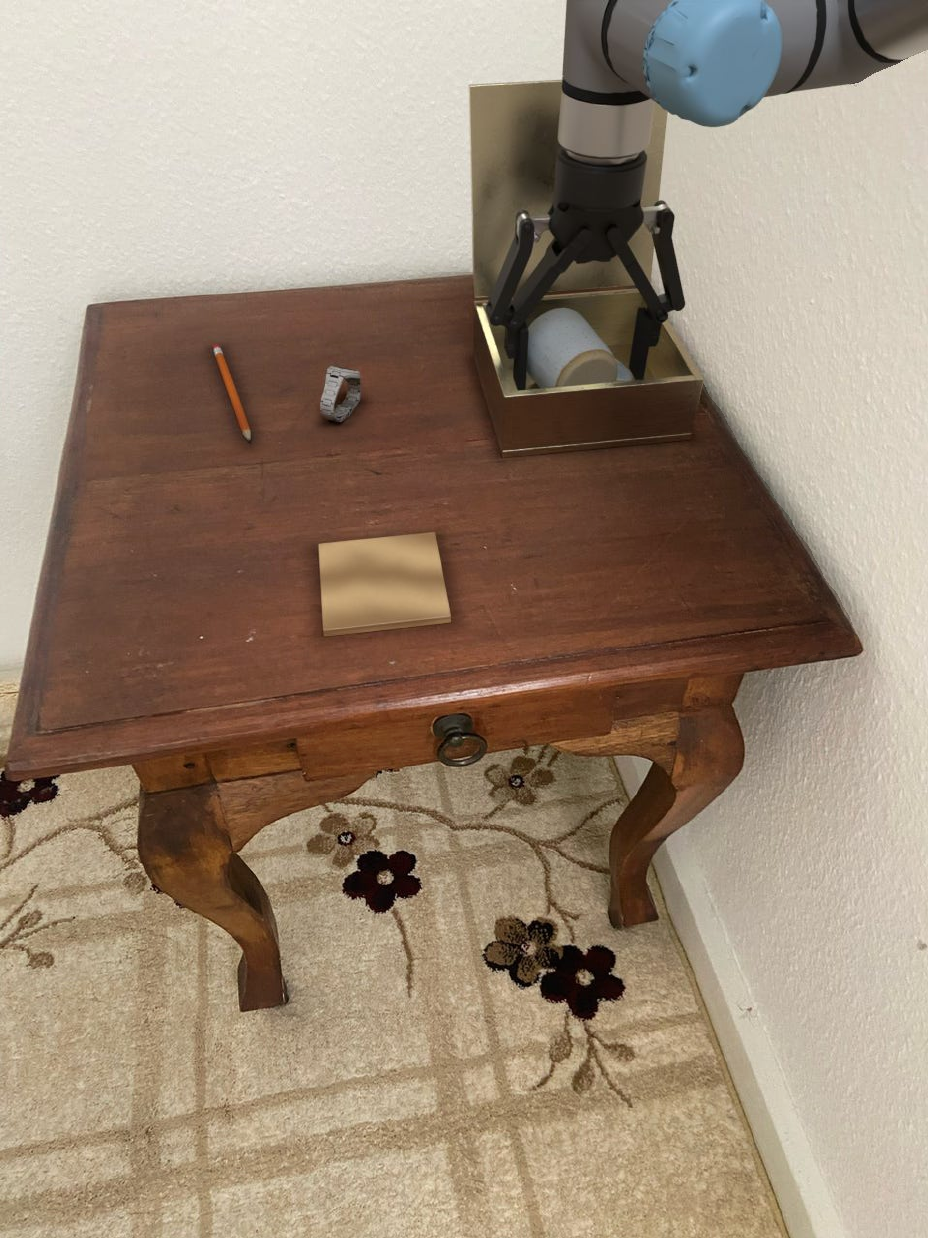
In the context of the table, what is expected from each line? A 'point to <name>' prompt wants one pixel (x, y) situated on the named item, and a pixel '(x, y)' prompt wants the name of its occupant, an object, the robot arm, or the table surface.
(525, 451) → the open metal box
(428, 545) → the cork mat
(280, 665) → the table surface
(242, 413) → the pencil
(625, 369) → the ceramic mug
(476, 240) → the box lid
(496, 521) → the table surface
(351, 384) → the wristwatch
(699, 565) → the table surface
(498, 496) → the table surface
